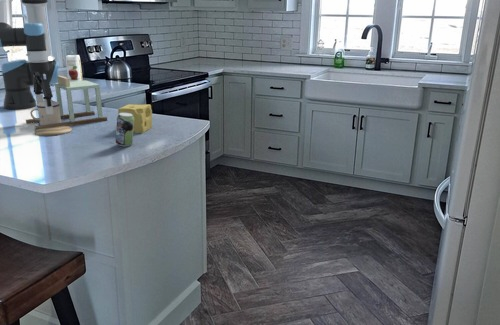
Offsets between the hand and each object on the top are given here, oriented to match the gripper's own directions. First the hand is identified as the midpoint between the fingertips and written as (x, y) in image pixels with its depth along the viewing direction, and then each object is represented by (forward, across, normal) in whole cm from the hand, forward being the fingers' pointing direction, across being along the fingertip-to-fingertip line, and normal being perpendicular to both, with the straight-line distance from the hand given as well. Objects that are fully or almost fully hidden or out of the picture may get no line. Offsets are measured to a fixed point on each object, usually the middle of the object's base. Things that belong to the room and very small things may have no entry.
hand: (45, 111), depth 205 cm
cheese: (+6, +33, +27) cm, 43 cm away
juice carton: (+4, -111, +49) cm, 122 cm away
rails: (+6, 0, +9) cm, 10 cm away
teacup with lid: (+6, 0, 0) cm, 6 cm away
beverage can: (+7, +53, +14) cm, 55 cm away
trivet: (+6, +15, -1) cm, 16 cm away
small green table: (+4, 0, +15) cm, 15 cm away
